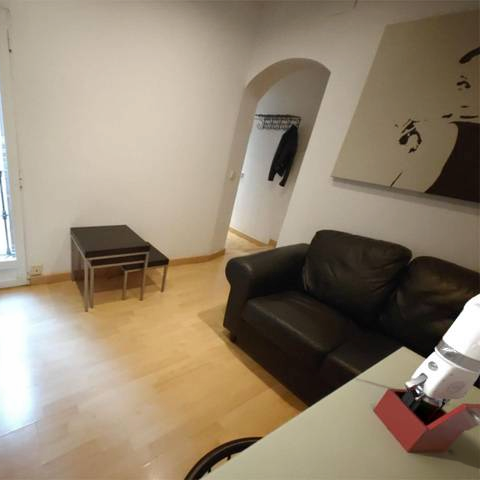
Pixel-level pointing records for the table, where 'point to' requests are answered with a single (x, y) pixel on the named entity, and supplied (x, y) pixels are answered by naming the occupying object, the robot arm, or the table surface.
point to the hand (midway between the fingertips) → (418, 406)
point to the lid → (458, 418)
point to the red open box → (412, 425)
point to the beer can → (427, 407)
